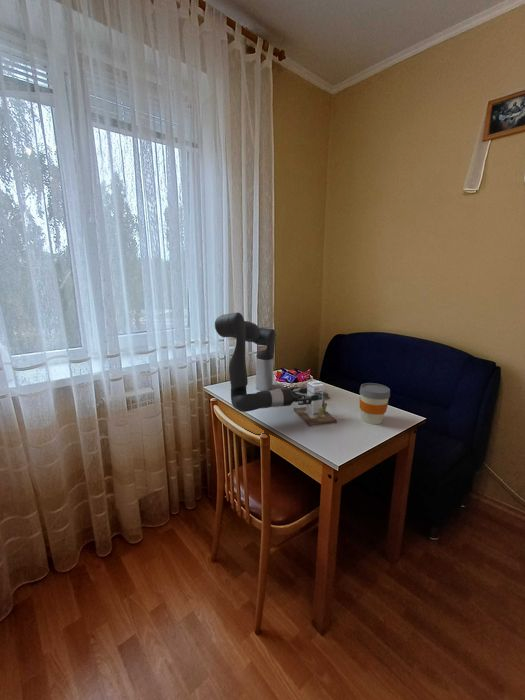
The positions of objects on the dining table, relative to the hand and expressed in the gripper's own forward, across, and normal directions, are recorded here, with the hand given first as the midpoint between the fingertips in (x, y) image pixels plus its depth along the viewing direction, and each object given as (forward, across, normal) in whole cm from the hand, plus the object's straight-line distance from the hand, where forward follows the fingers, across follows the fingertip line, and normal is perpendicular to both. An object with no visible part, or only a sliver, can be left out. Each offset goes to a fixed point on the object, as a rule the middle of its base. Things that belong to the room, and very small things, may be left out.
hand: (313, 393), depth 139 cm
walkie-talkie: (+14, +18, +12) cm, 26 cm away
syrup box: (+1, 0, +10) cm, 10 cm away
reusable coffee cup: (+24, -10, +11) cm, 29 cm away
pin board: (+1, 0, +11) cm, 11 cm away
